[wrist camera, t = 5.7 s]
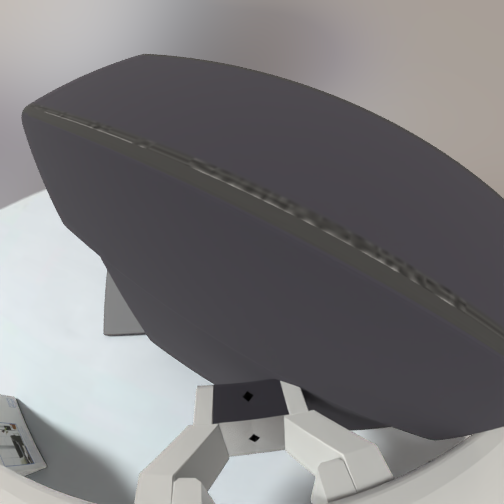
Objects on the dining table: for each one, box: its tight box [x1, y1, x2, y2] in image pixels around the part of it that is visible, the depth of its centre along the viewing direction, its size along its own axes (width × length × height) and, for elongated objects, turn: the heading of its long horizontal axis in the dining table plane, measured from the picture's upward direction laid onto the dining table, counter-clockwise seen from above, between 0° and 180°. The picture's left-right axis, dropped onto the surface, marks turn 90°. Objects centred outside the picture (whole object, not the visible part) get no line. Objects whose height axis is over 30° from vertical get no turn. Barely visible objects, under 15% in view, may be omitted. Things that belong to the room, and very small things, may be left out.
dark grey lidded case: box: [22, 54, 504, 440], centre depth 9 cm, size 11×4×15 cm, turn 59°
